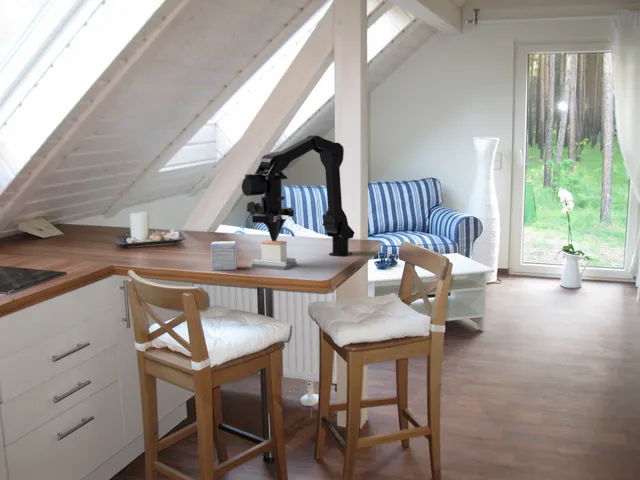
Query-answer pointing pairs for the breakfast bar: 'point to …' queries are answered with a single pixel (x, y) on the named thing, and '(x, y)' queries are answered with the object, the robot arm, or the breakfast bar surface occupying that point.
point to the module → (274, 250)
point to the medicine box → (224, 255)
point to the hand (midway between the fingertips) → (274, 241)
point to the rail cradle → (275, 264)
